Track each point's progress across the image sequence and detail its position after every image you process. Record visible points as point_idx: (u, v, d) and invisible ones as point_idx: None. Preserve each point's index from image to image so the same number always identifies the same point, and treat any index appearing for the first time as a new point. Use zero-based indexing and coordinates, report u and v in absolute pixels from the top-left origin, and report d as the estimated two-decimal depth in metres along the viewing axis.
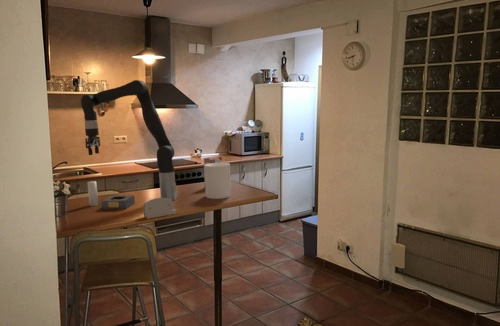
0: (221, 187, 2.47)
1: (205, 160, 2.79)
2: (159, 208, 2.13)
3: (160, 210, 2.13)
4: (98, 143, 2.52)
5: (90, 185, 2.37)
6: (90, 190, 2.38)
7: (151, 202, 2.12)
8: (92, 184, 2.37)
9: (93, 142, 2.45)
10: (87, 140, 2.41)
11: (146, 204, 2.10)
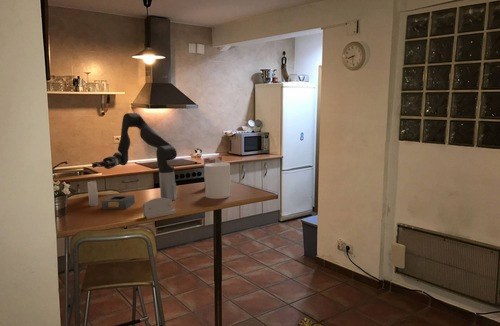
0: (221, 187, 2.47)
1: (205, 160, 2.79)
2: (159, 208, 2.13)
3: (160, 210, 2.13)
4: (109, 161, 2.56)
5: (90, 185, 2.37)
6: (90, 190, 2.38)
7: (151, 202, 2.12)
8: (92, 184, 2.37)
9: None
10: None
11: (146, 204, 2.10)
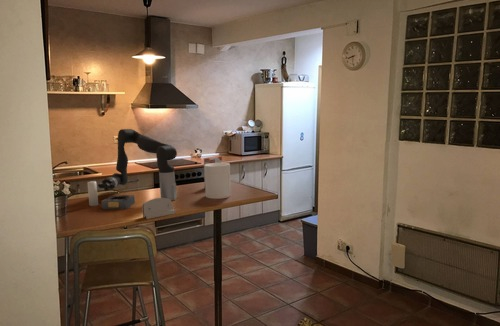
0: (221, 187, 2.47)
1: (205, 160, 2.79)
2: (158, 208, 2.13)
3: (159, 210, 2.13)
4: (108, 183, 2.54)
5: (90, 185, 2.37)
6: (90, 190, 2.38)
7: (150, 202, 2.11)
8: (92, 184, 2.37)
9: None
10: None
11: (145, 204, 2.10)
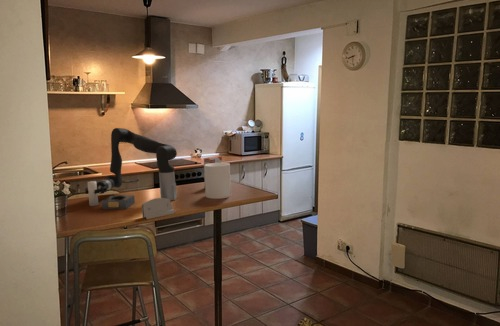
0: (221, 187, 2.47)
1: (205, 160, 2.79)
2: (158, 208, 2.13)
3: (159, 210, 2.13)
4: (100, 187, 2.43)
5: (90, 185, 2.37)
6: (90, 190, 2.38)
7: (150, 202, 2.11)
8: (92, 184, 2.37)
9: None
10: None
11: (145, 205, 2.09)
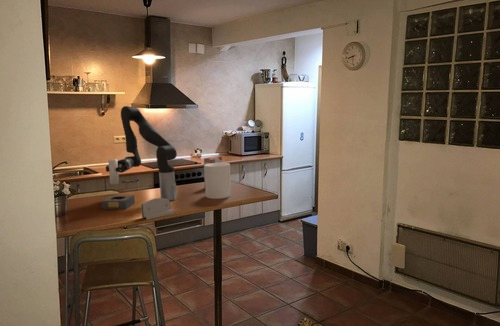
0: (221, 187, 2.47)
1: (205, 160, 2.79)
2: (157, 208, 2.12)
3: (158, 210, 2.12)
4: (120, 165, 2.37)
5: (111, 163, 2.30)
6: (111, 167, 2.31)
7: (149, 202, 2.10)
8: (113, 162, 2.31)
9: None
10: None
11: (145, 205, 2.08)
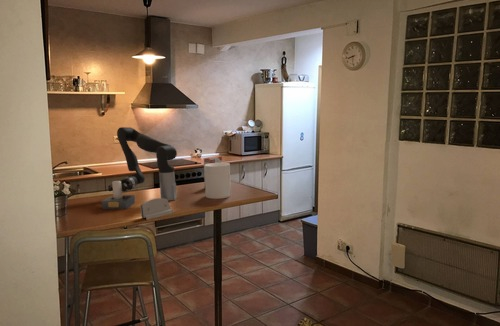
0: (221, 187, 2.47)
1: (205, 160, 2.79)
2: (157, 209, 2.12)
3: (158, 211, 2.12)
4: (126, 184, 2.38)
5: (115, 185, 2.32)
6: (115, 189, 2.32)
7: (149, 203, 2.10)
8: (117, 184, 2.32)
9: None
10: None
11: (144, 205, 2.08)
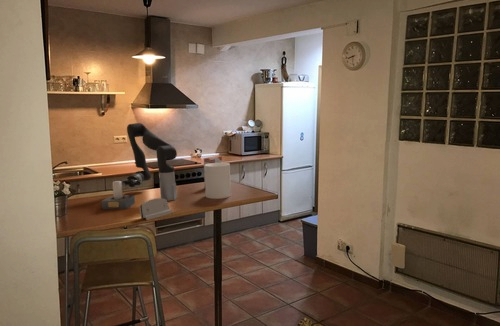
0: (221, 187, 2.47)
1: (205, 160, 2.79)
2: (156, 209, 2.12)
3: (157, 211, 2.12)
4: (134, 180, 2.51)
5: (115, 185, 2.32)
6: (115, 190, 2.32)
7: (148, 203, 2.09)
8: (117, 184, 2.32)
9: (124, 180, 2.53)
10: None
11: (144, 205, 2.07)
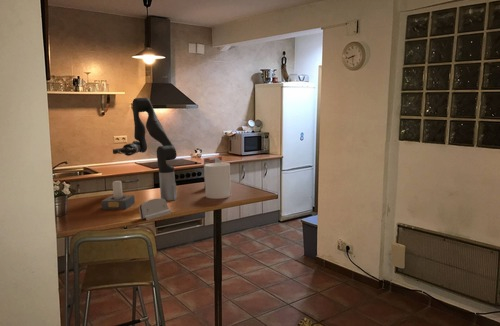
0: (221, 187, 2.47)
1: (205, 160, 2.79)
2: (155, 209, 2.11)
3: (156, 211, 2.11)
4: (130, 148, 2.54)
5: (115, 185, 2.32)
6: (115, 190, 2.32)
7: (148, 203, 2.09)
8: (117, 184, 2.32)
9: (120, 148, 2.55)
10: None
11: (143, 206, 2.07)
